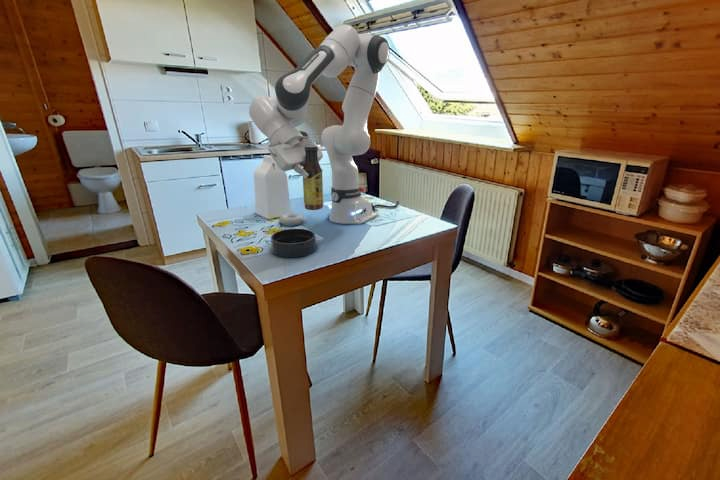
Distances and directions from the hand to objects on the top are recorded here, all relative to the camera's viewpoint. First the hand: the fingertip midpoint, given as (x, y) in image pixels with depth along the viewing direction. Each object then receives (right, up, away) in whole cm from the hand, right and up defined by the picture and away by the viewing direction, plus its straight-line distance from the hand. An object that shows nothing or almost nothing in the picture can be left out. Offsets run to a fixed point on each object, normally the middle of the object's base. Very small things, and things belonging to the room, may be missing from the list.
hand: (314, 174), depth 109 cm
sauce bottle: (-1, -10, +4) cm, 11 cm away
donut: (-14, -14, +36) cm, 42 cm away
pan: (-8, -24, +10) cm, 27 cm away
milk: (-25, -9, +49) cm, 56 cm away
